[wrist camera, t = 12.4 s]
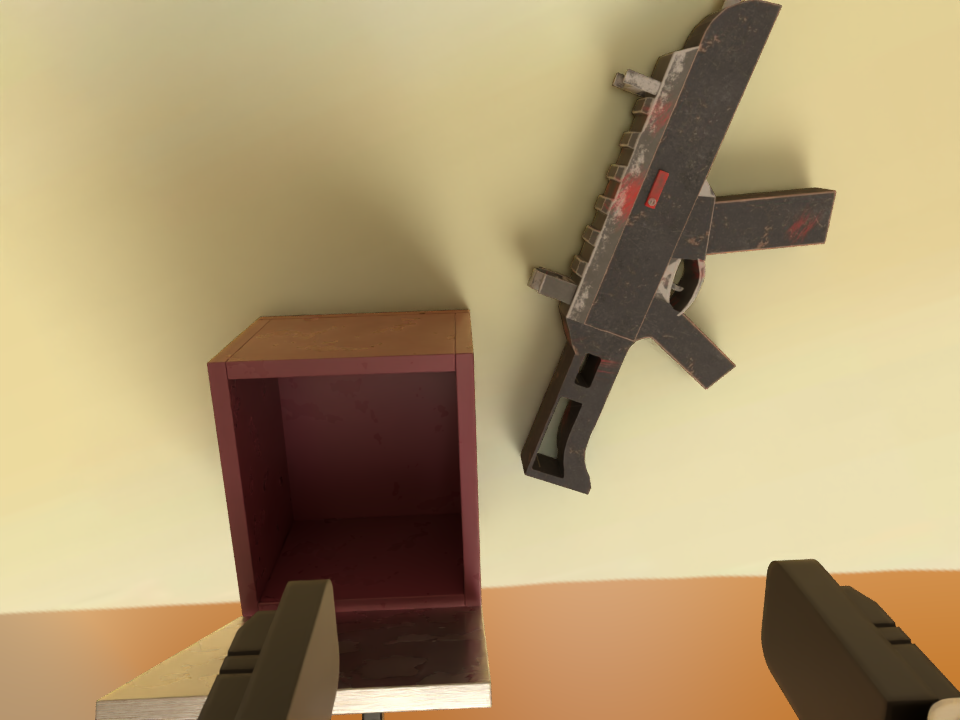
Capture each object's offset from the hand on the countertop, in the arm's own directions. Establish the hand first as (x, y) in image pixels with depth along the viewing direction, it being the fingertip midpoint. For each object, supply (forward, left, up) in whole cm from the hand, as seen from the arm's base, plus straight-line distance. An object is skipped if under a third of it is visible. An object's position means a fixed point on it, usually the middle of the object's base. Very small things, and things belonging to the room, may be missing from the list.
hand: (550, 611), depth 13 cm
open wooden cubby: (+2, -11, -32) cm, 34 cm away
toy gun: (+5, +10, -32) cm, 34 cm away
